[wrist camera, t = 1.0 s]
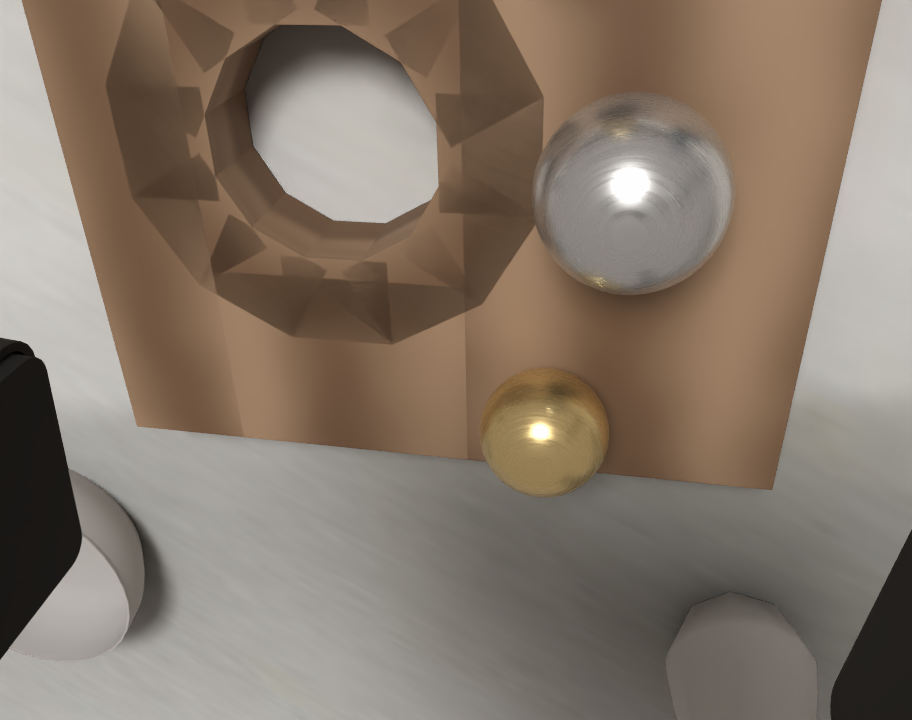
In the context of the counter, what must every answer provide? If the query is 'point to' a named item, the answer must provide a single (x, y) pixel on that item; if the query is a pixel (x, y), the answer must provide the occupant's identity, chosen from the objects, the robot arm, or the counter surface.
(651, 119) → the steel ball
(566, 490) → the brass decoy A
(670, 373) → the board
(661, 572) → the counter surface
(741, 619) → the salt shaker
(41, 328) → the counter surface
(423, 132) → the counter surface
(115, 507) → the saucepan
